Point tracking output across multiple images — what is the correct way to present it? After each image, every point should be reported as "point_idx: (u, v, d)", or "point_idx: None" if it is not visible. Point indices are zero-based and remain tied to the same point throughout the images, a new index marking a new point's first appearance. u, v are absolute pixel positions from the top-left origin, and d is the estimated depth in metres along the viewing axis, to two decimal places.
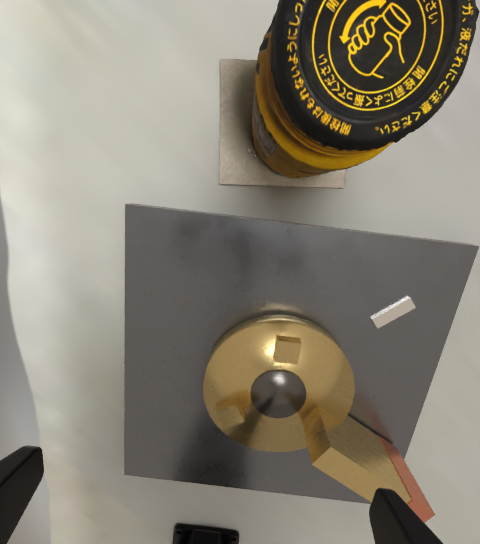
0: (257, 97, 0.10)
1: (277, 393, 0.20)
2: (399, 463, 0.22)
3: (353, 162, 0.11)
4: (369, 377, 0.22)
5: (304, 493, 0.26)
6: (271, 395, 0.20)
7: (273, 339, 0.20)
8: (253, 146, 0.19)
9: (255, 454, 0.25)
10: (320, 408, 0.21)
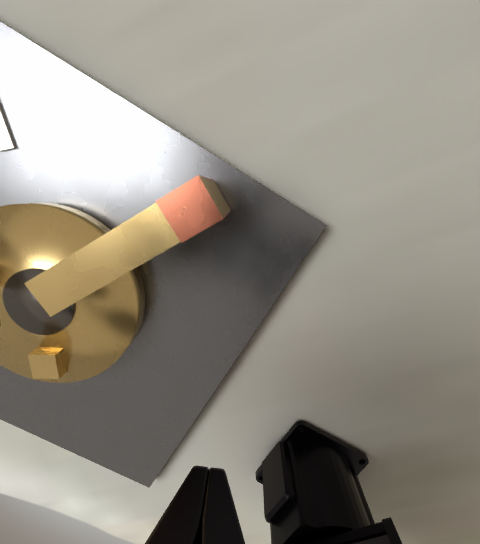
0: None
1: (34, 302, 0.16)
2: None
3: None
4: (90, 180, 0.16)
5: (253, 324, 0.18)
6: (36, 310, 0.16)
7: None
8: None
9: (167, 355, 0.19)
10: None
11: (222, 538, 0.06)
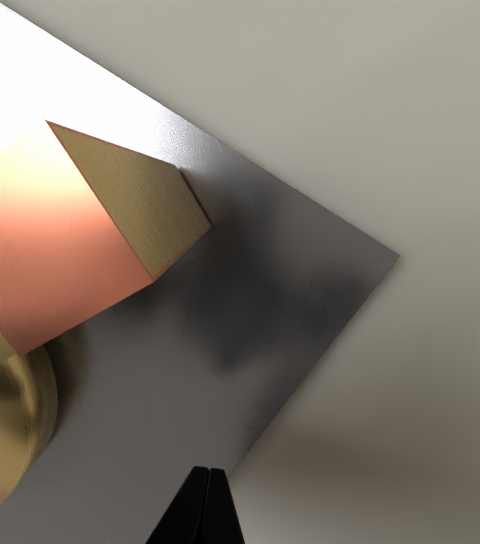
0: None
1: None
2: None
3: None
4: None
5: (256, 427, 0.10)
6: None
7: None
8: None
9: (106, 473, 0.11)
10: None
11: (222, 538, 0.06)
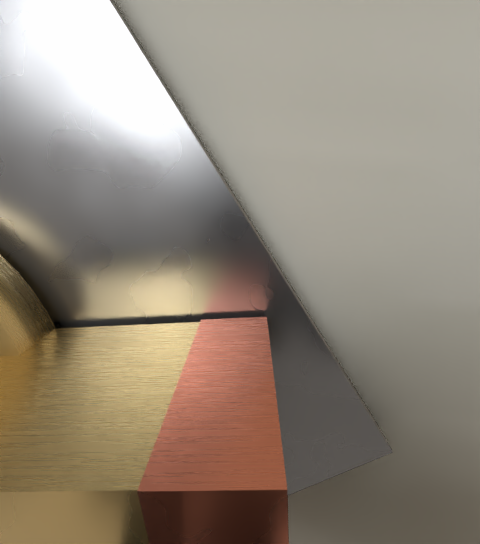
0: None
1: None
2: (226, 355, 0.07)
3: None
4: (48, 215, 0.08)
5: None
6: None
7: None
8: None
9: None
10: None
11: None
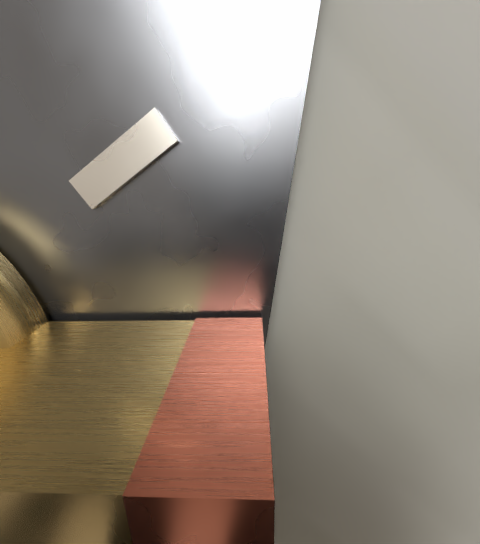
0: None
1: None
2: (220, 356, 0.07)
3: None
4: None
5: None
6: None
7: None
8: None
9: None
10: None
11: None
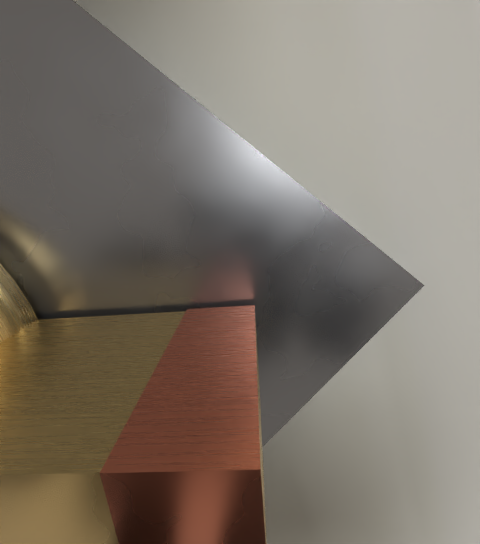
0: None
1: None
2: (210, 341, 0.07)
3: None
4: None
5: None
6: None
7: None
8: None
9: None
10: None
11: None
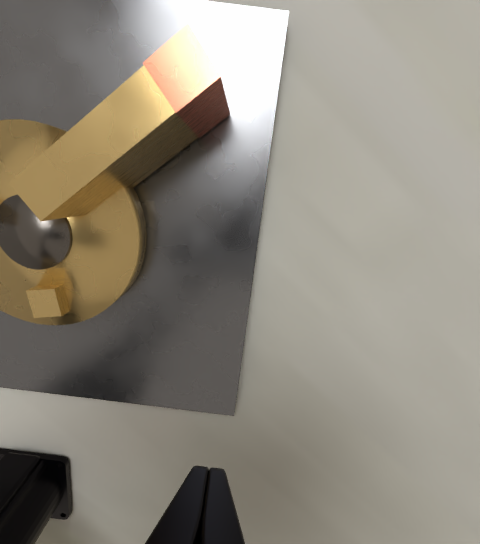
0: None
1: (27, 232, 0.15)
2: None
3: None
4: (178, 227, 0.17)
5: (128, 399, 0.20)
6: (30, 241, 0.15)
7: None
8: None
9: (55, 344, 0.19)
10: None
11: (222, 538, 0.06)
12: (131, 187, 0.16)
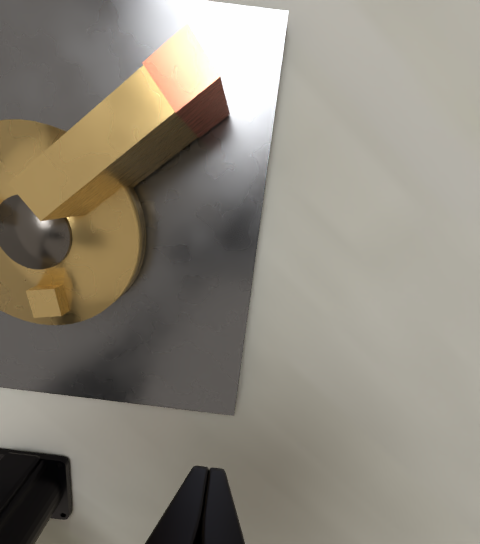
0: None
1: (27, 232, 0.15)
2: None
3: None
4: (178, 227, 0.17)
5: (128, 399, 0.20)
6: (30, 241, 0.15)
7: None
8: None
9: (55, 344, 0.19)
10: None
11: (222, 538, 0.06)
12: (131, 187, 0.16)
